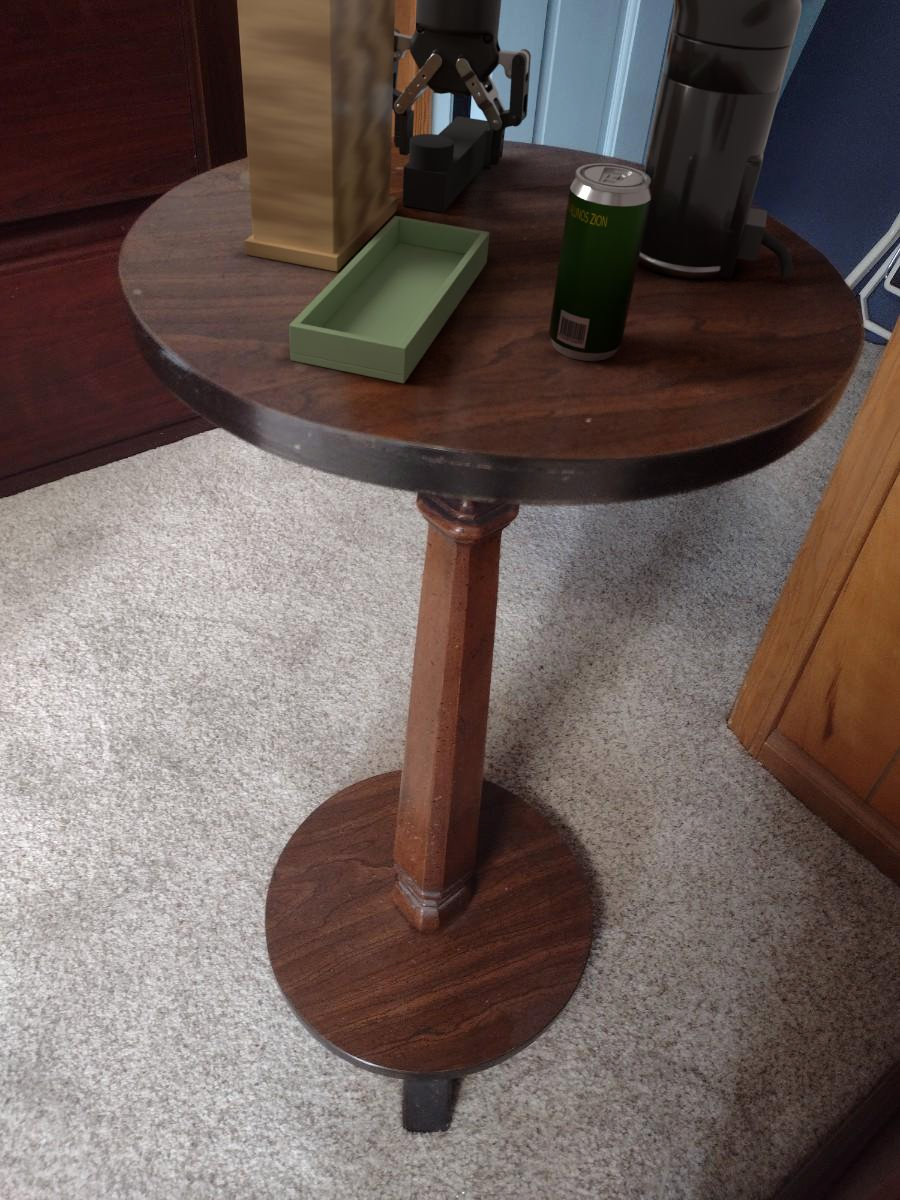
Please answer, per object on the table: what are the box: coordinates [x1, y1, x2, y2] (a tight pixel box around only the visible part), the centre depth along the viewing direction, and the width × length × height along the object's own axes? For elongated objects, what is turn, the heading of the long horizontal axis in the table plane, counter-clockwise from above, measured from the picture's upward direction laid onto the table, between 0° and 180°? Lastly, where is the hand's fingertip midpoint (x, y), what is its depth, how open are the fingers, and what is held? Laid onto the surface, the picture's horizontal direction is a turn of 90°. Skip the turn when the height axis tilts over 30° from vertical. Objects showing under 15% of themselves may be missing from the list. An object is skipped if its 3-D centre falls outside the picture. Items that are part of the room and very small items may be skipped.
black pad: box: [401, 115, 490, 213], centre depth 94 cm, size 18×4×6 cm, turn 164°
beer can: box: [548, 162, 651, 362], centre depth 67 cm, size 5×5×12 cm
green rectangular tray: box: [288, 215, 490, 384], centre depth 73 cm, size 22×8×3 cm, turn 164°
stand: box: [236, 0, 398, 273], centre depth 74 cm, size 15×8×30 cm, turn 164°
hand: (447, 160), depth 95 cm, fingers open, 8 cm apart
